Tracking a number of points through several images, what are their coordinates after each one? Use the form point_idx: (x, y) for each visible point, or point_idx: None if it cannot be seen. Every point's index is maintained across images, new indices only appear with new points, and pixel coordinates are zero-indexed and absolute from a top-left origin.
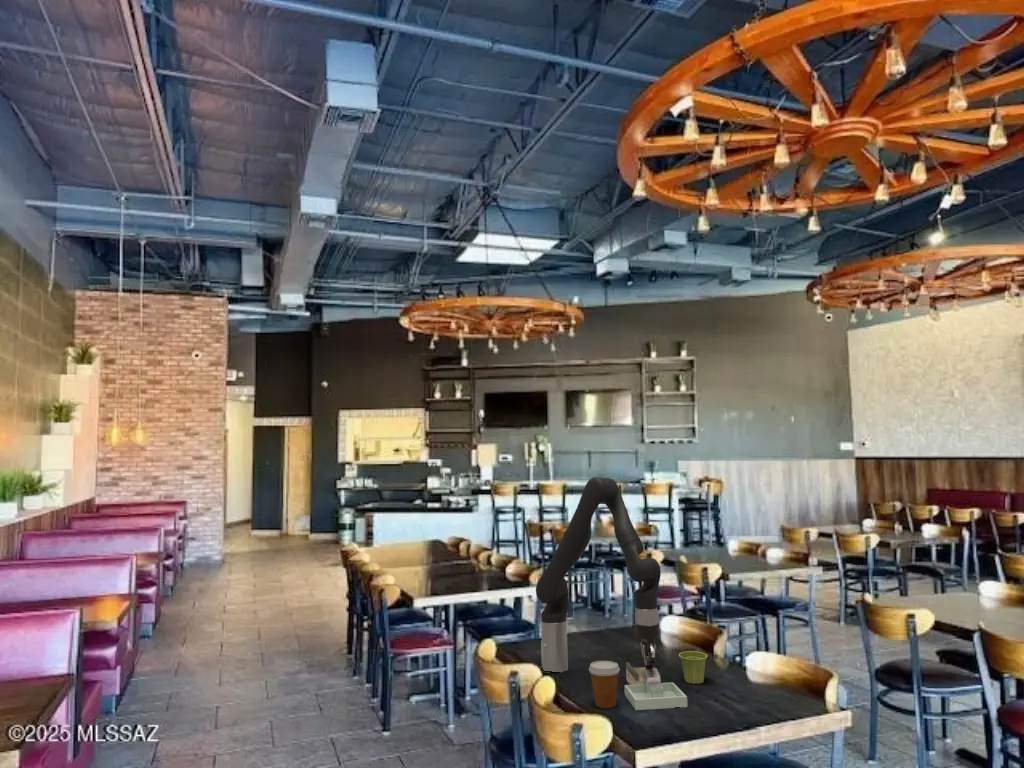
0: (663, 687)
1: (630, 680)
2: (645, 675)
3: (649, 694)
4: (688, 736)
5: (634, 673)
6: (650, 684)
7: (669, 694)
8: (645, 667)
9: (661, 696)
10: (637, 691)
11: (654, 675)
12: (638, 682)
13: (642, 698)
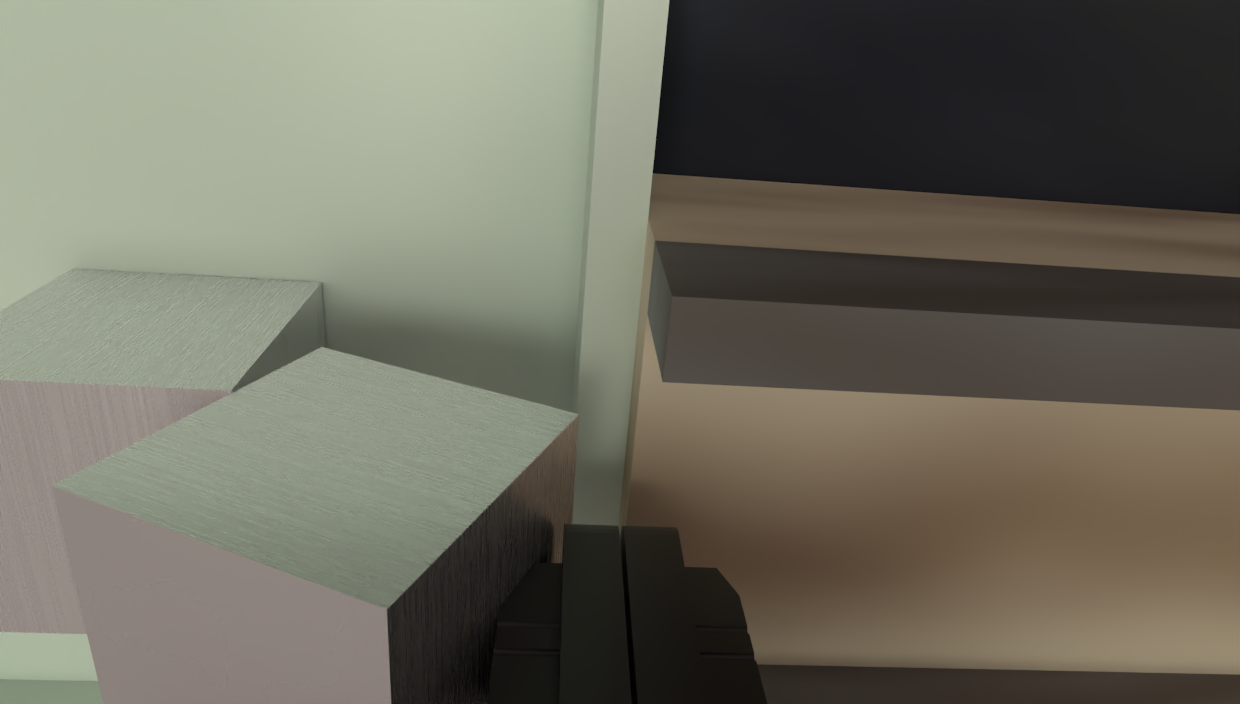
0: None
1: (1156, 231)
2: (296, 494)
3: (119, 308)
4: None
5: (868, 301)
6: None
7: None
8: (678, 681)
9: None
10: (587, 183)
11: (148, 697)
12: (648, 278)
13: (257, 167)
